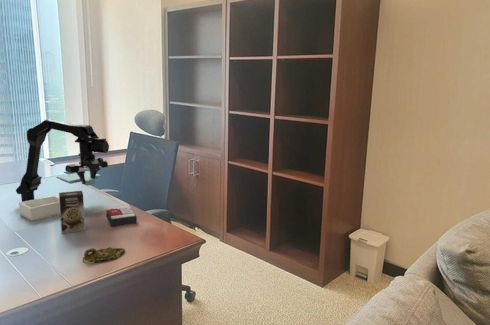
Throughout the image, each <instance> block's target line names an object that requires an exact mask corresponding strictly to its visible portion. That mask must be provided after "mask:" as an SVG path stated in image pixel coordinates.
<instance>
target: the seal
mask: <svg viewBox="0 0 490 325" xmlns="http://www.w3.org/2000/svg"><path fill="white" fill-rule="evenodd" d="M125 251H126V250H125V248H123V247H121V248H120V247H112V246H111V247H107V248H100V249H96V248H93V247H92V248H89V249H86V250H84V253H83V257H82V262H83V263H85V264H86V263H87V264H102V263H105V262H111V261H114V260H117V259H118V258H120V257H121V256H123V255H124V253H125Z"/></svg>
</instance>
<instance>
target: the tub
mask: <svg viewBox="0 0 490 325" xmlns="http://www.w3.org/2000/svg"><path fill="white" fill-rule="evenodd" d="M18 207H19V213H20V216H22V217H23V218H24V219H27V221H30V222H34V221H38V220H44V219H46V218H47V219H48V218H51V217H54V216H58V215H60V201H59V196H57V195H49V196H45V197H40V198H35V199H34V200H29V201H24V202H22V201H20V202H19V203H18Z"/></svg>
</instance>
